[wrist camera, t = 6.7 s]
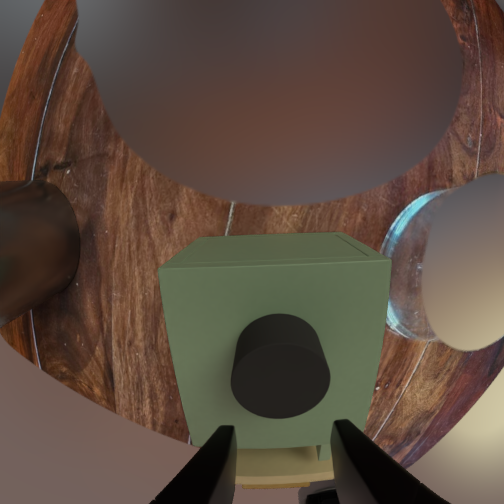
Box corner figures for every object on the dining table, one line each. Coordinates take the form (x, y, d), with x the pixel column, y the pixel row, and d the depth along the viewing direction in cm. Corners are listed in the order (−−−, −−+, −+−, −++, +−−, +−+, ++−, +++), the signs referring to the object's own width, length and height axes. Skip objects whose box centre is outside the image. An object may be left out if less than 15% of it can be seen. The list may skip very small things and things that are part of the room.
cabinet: (335, 366, 21) (361, 439, 13) (213, 371, 22) (193, 446, 14) (342, 231, 19) (392, 259, 11) (198, 237, 19) (157, 268, 11)
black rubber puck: (317, 380, 12) (326, 416, 10) (238, 383, 12) (234, 420, 10) (321, 310, 12) (334, 339, 9) (233, 314, 12) (226, 344, 9)
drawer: (319, 450, 22) (328, 501, 16) (230, 453, 23) (223, 505, 16) (333, 330, 20) (358, 383, 13) (213, 335, 20) (195, 390, 14)
